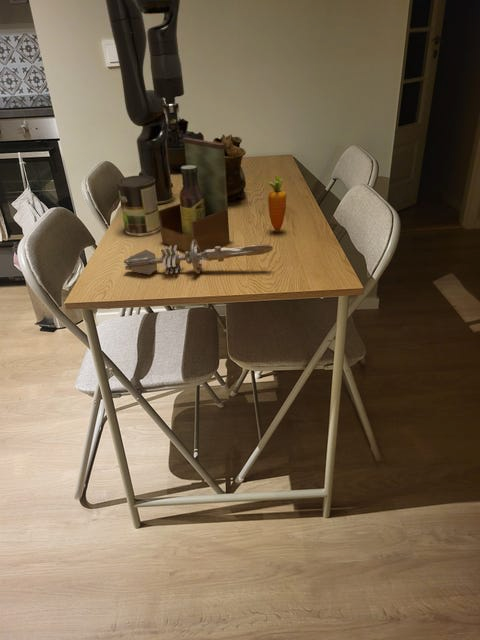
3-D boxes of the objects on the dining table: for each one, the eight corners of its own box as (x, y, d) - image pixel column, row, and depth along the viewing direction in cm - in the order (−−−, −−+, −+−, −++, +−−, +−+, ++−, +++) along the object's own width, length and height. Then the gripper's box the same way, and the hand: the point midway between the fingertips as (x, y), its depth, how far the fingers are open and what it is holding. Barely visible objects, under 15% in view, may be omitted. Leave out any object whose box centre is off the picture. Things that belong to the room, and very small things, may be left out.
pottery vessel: (214, 186, 169) (209, 127, 159) (244, 185, 169) (242, 126, 159) (214, 209, 148) (209, 143, 137) (248, 207, 148) (246, 141, 138)
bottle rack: (162, 243, 127) (149, 146, 114) (195, 230, 134) (187, 137, 121) (196, 257, 118) (186, 153, 105) (230, 242, 125) (224, 144, 112)
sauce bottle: (203, 248, 123) (196, 170, 112) (180, 247, 124) (171, 170, 113) (210, 238, 128) (204, 163, 118) (188, 237, 129) (180, 163, 119)
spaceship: (271, 248, 101) (270, 222, 106) (115, 266, 106) (120, 240, 110) (275, 272, 108) (273, 247, 112) (128, 288, 112) (132, 263, 116)
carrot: (281, 236, 127) (281, 180, 119) (265, 233, 129) (264, 178, 122) (289, 230, 131) (290, 175, 123) (273, 227, 133) (273, 173, 125)
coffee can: (129, 238, 130) (120, 188, 123) (122, 226, 139) (113, 178, 131) (165, 231, 134) (158, 182, 126) (156, 220, 142) (149, 173, 134)
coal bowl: (197, 160, 203) (193, 113, 194) (214, 170, 188) (210, 119, 178) (152, 166, 197) (145, 118, 187) (165, 178, 181) (159, 126, 171)
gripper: (152, 74, 123) (161, 139, 132) (151, 78, 111) (161, 150, 120) (180, 72, 124) (188, 137, 133) (183, 76, 112) (191, 147, 120)
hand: (175, 143), depth 126 cm, fingers open, 8 cm apart
